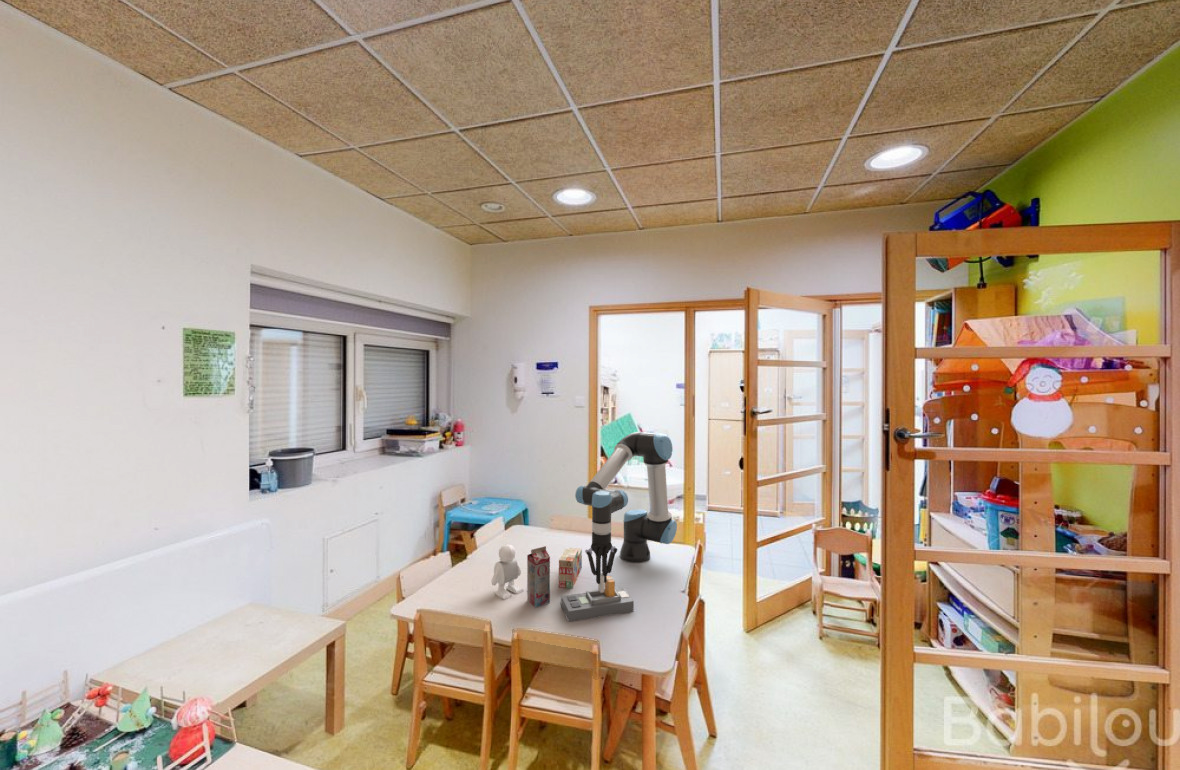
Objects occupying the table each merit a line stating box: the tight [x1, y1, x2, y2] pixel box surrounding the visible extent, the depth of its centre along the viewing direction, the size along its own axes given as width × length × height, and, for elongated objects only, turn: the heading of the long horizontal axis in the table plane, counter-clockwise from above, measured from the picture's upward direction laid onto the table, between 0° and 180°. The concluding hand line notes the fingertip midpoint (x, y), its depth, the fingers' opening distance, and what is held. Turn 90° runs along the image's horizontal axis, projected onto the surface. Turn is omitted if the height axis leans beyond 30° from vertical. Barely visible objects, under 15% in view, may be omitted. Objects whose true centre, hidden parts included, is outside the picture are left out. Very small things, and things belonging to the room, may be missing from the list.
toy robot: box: [491, 543, 524, 600], centre depth 192 cm, size 14×9×20 cm, turn 137°
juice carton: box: [526, 545, 551, 608], centre depth 184 cm, size 7×7×22 cm
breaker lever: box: [604, 575, 616, 597], centre depth 180 cm, size 2×5×7 cm, turn 17°
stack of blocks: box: [558, 547, 583, 589], centre depth 206 cm, size 21×6×12 cm, turn 170°
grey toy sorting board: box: [560, 587, 635, 623], centre depth 179 cm, size 26×12×6 cm, turn 107°
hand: (601, 590), depth 179 cm, fingers closed
